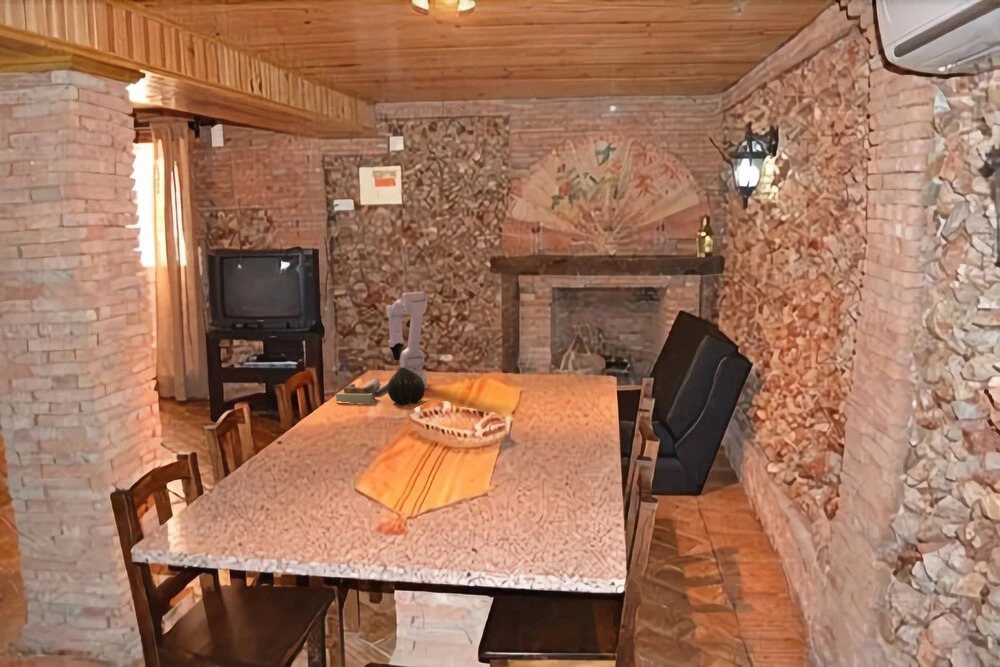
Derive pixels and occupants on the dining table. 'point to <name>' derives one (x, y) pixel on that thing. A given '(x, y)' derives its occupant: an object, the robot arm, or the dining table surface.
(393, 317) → the robot arm
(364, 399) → the wall
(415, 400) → the squash
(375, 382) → the tube
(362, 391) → the socket block
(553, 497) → the dining table surface
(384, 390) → the guide rails
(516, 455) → the dining table surface
